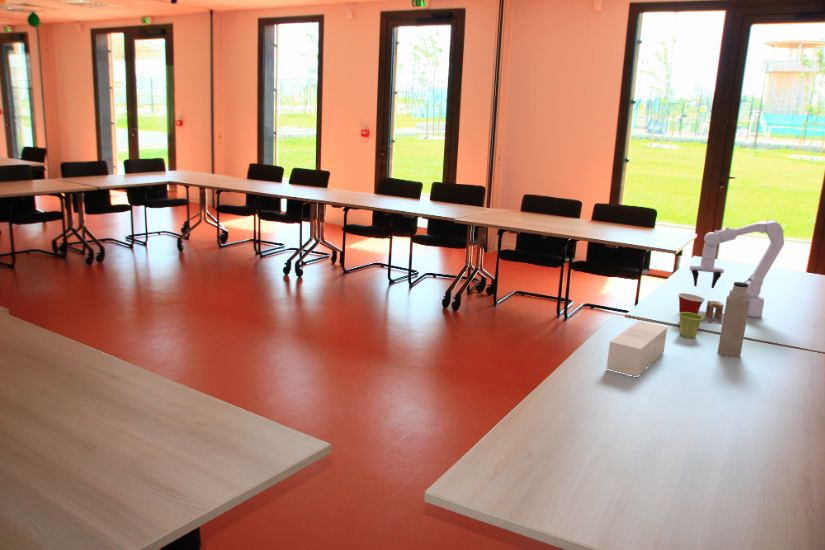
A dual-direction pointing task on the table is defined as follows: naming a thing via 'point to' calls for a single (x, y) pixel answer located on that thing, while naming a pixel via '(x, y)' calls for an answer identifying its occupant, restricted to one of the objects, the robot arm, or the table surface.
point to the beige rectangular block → (636, 348)
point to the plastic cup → (689, 303)
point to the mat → (713, 319)
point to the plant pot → (689, 324)
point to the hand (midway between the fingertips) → (703, 286)
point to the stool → (718, 310)
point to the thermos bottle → (734, 321)
